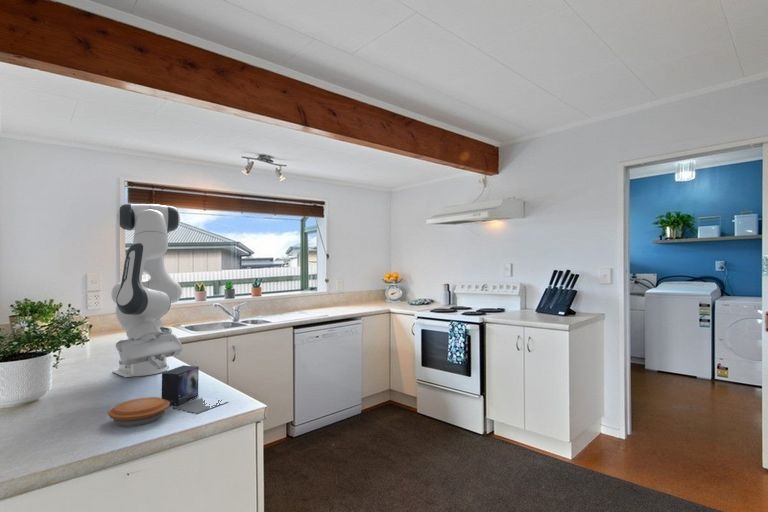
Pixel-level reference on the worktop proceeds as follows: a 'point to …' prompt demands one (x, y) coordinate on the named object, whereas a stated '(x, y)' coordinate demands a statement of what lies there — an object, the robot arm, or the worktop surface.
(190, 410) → the rubber mat
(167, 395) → the small box
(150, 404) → the pie
